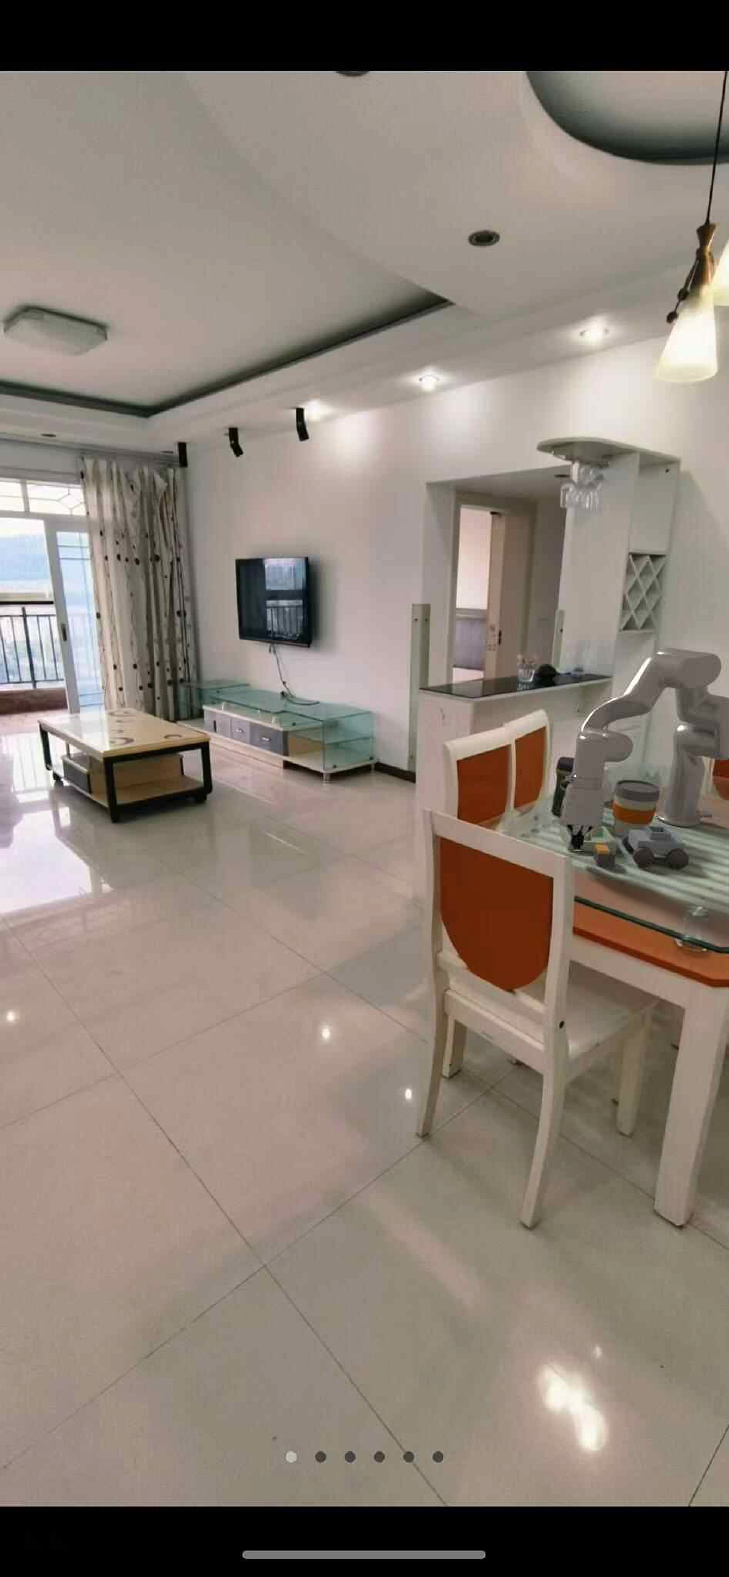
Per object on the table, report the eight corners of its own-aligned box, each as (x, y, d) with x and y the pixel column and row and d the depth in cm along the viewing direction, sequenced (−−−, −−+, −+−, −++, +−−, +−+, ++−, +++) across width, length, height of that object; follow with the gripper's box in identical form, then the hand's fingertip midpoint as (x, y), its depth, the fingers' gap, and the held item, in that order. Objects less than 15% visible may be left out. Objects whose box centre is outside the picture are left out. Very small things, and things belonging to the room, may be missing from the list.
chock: (609, 860, 179) (612, 845, 178) (613, 866, 176) (616, 851, 174) (593, 859, 180) (595, 844, 178) (596, 865, 176) (599, 850, 175)
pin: (591, 838, 192) (595, 809, 189) (594, 843, 188) (599, 814, 186) (578, 838, 192) (583, 808, 189) (581, 842, 189) (586, 813, 186)
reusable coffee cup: (624, 843, 191) (632, 794, 187) (599, 827, 203) (606, 780, 198) (661, 839, 195) (670, 791, 190) (634, 824, 206) (642, 778, 201)
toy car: (671, 850, 187) (676, 822, 184) (687, 869, 175) (693, 839, 173) (620, 847, 188) (624, 819, 185) (633, 866, 176) (638, 836, 174)
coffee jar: (583, 812, 214) (591, 757, 209) (579, 820, 208) (587, 763, 202) (552, 807, 218) (560, 753, 213) (548, 814, 212) (555, 758, 206)
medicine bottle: (579, 797, 229) (584, 764, 225) (595, 795, 232) (600, 762, 228) (594, 804, 223) (599, 770, 219) (610, 801, 226) (615, 768, 222)
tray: (603, 835, 196) (605, 826, 195) (615, 853, 184) (617, 843, 183) (558, 833, 197) (560, 823, 196) (567, 850, 185) (569, 840, 184)
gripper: (559, 784, 168) (550, 850, 174) (619, 788, 167) (608, 855, 173) (554, 775, 175) (545, 839, 181) (611, 779, 174) (601, 844, 180)
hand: (576, 847), depth 177 cm, fingers closed
